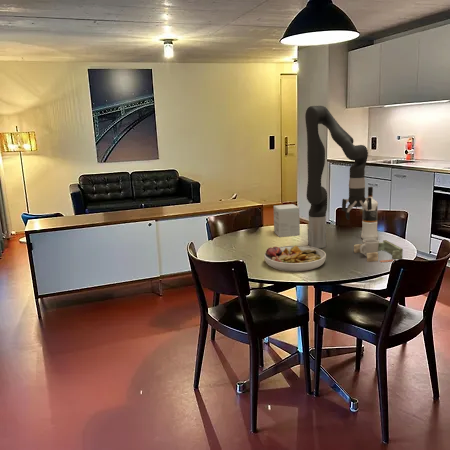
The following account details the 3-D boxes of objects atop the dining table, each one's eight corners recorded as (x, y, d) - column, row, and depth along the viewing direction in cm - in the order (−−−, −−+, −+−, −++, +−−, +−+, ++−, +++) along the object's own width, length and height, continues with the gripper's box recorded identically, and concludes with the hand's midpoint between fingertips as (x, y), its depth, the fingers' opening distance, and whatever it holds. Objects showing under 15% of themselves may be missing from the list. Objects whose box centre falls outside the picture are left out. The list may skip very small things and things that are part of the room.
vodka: (366, 235, 258) (367, 185, 252) (380, 237, 252) (382, 186, 245) (358, 239, 252) (358, 187, 245) (373, 241, 246) (374, 188, 239)
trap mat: (381, 262, 210) (381, 262, 210) (379, 261, 212) (379, 260, 212) (395, 261, 210) (395, 260, 210) (392, 259, 213) (392, 259, 213)
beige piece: (368, 261, 212) (368, 252, 211) (353, 252, 228) (353, 242, 227) (402, 258, 214) (402, 248, 212) (385, 249, 230) (385, 240, 229)
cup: (366, 260, 215) (366, 244, 213) (354, 256, 222) (354, 241, 220) (382, 256, 219) (382, 240, 218) (370, 252, 226) (370, 237, 224)
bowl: (326, 255, 227) (326, 240, 225) (325, 274, 199) (325, 258, 197) (268, 254, 234) (268, 240, 232) (260, 273, 206) (259, 257, 204)
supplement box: (294, 230, 280) (293, 203, 276) (300, 235, 267) (299, 207, 263) (273, 232, 278) (272, 205, 274) (279, 237, 266) (278, 209, 262)
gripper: (345, 188, 210) (344, 221, 214) (374, 186, 211) (373, 219, 215) (340, 186, 218) (340, 218, 221) (368, 184, 218) (367, 216, 222)
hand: (356, 218), depth 218 cm, fingers open, 8 cm apart
